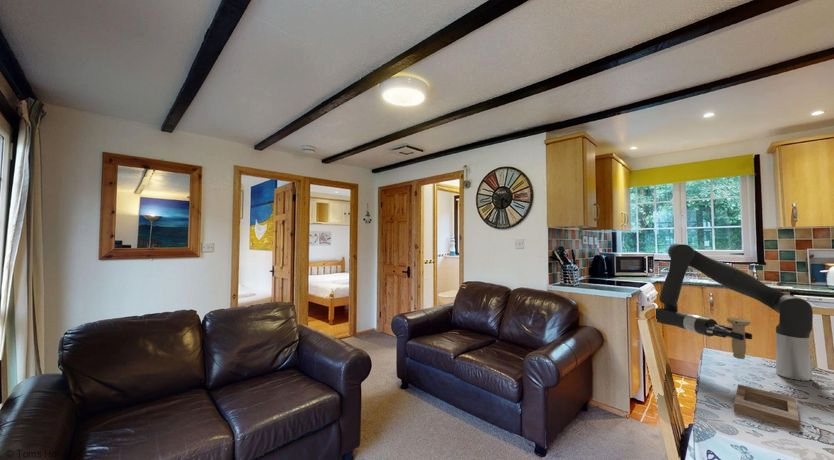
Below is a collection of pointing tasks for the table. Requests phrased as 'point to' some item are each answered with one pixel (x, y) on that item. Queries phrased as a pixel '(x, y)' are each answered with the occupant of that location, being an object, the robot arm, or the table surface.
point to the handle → (737, 344)
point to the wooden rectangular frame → (765, 412)
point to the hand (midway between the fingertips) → (747, 337)
